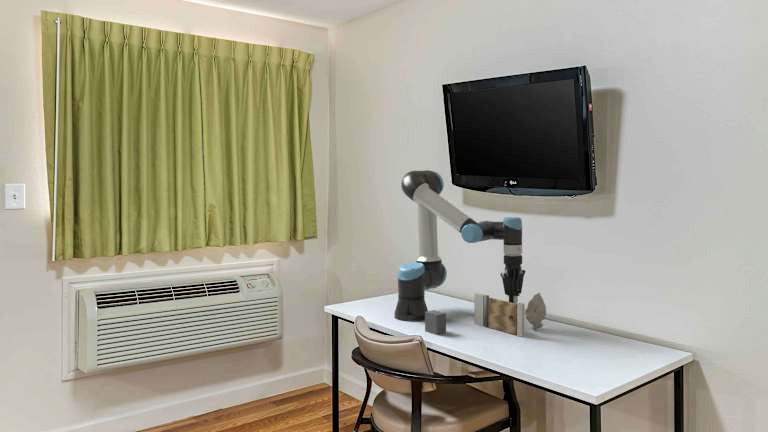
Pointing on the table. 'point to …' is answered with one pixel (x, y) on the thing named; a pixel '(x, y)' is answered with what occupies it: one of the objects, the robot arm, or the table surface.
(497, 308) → the door
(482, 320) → the door frame
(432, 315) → the block
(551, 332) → the table surface
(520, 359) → the table surface
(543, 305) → the stone tool
